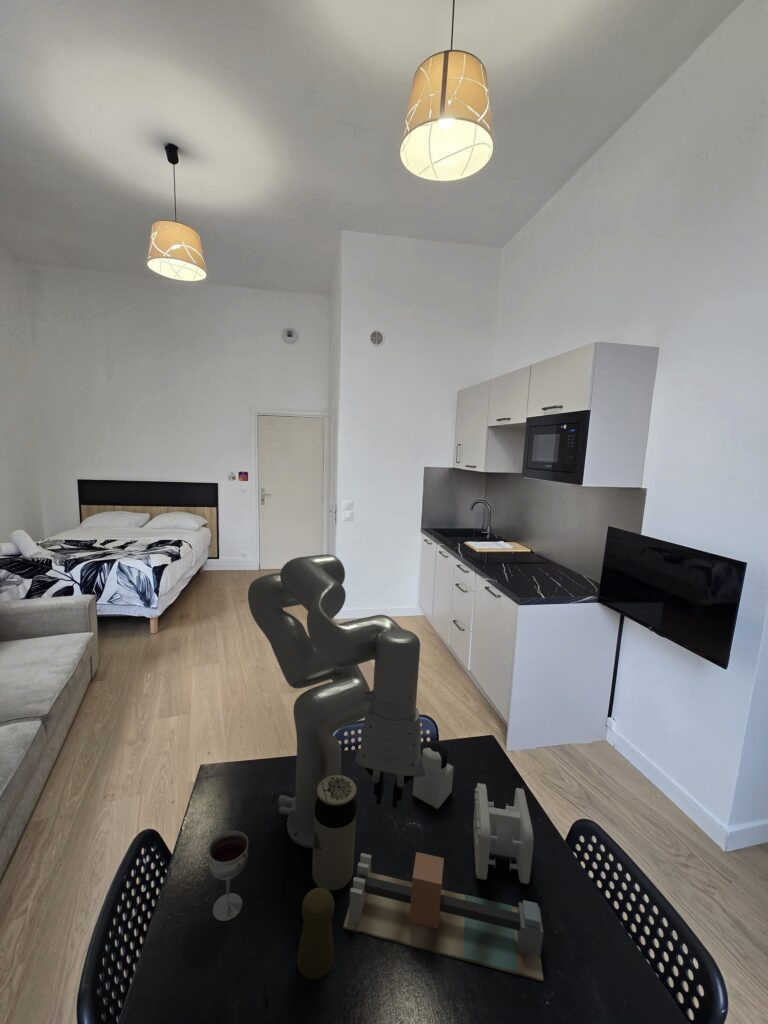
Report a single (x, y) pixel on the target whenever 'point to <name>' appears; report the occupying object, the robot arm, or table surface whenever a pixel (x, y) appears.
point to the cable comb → (359, 888)
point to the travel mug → (334, 832)
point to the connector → (530, 928)
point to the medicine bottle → (434, 776)
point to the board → (447, 933)
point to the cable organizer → (502, 833)
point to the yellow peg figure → (316, 934)
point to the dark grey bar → (446, 904)
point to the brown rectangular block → (426, 890)
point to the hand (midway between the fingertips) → (387, 799)
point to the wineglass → (228, 869)
